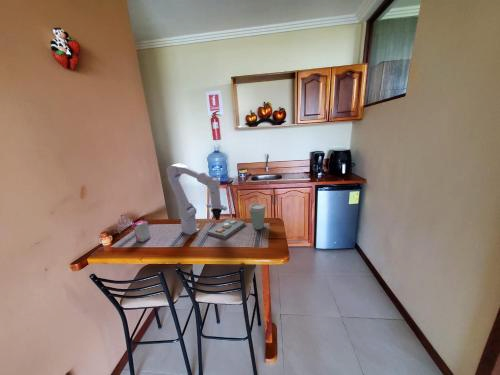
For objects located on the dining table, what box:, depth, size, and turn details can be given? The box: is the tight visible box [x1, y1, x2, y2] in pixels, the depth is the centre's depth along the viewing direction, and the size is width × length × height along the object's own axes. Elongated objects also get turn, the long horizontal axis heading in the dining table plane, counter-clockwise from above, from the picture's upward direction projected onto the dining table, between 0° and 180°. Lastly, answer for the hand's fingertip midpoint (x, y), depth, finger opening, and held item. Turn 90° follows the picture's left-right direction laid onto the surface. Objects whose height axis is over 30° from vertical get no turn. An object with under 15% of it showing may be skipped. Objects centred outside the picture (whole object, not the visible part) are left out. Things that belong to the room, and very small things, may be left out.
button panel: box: [206, 218, 246, 240], centre depth 126 cm, size 14×21×2 cm, turn 148°
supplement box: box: [132, 220, 151, 243], centre depth 119 cm, size 6×6×12 cm
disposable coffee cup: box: [248, 203, 266, 230], centre depth 124 cm, size 11×11×15 cm
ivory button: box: [224, 223, 230, 229], centre depth 126 cm, size 4×4×2 cm
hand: (217, 219), depth 120 cm, fingers closed
